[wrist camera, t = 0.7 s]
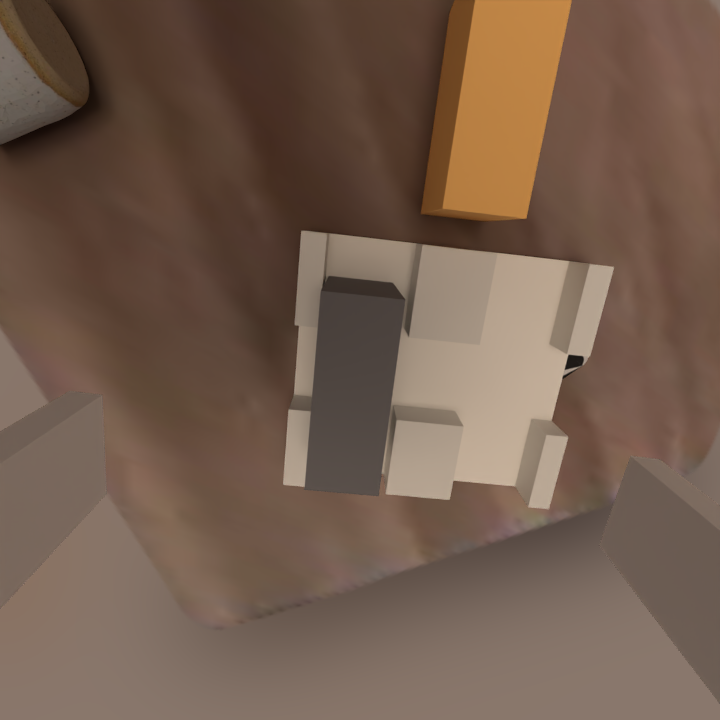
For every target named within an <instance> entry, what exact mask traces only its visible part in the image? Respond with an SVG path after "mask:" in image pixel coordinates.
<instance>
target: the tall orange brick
mask: <svg viewBox="0 0 720 720" xmlns="http://www.w3.org/2000/svg"><path fill="white" fill-rule="evenodd" d="M571 1H572V0H455V1H454V3H453V6H452V8H451V10H450V14H449V21H448V28H447V35H446V42H445V49H444V56H443V63H442V70H441V77H440V83H439V90H438V97H437V104H436V111H435V118H434V125H433V132H432V139H431V146H430V153H429V160H428V167H427V174H426V181H425V188H424V195H423V202H422V209H421V214H425V215H434V216H442V217H451V218H459V219H467V220H476V221H498V220H513V219H526V217H527V212H528V207H529V203H530V198H531V193H532V188H533V183H534V179H535V174H536V169H537V164H538V159H539V155H540V150H541V145H542V140H543V135H544V131H545V126H546V121H547V116H548V112H549V107H550V102H551V97H552V92H553V88H554V83H555V78H556V73H557V68H558V64H559V59H560V54H561V49H562V44H563V40H564V35H565V30H566V25H567V21H568V16H569V11H570V6H571Z"/></svg>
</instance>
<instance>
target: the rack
mask: <svg viewBox="0 0 720 720" xmlns="http://www.w3.org/2000/svg"><path fill="white" fill-rule="evenodd" d="M613 270H614V267H610V266H603V265H596V264H589V263H581V262H572V261H564V260H555V259H546V258H538V257H529V256H521V255H512V254H503V253H495V252H486V251H478V250H469V249H460V248H452V247H443V246H435V245H426V244H418V243H409V242H400V241H392V240H383V239H375V238H366V237H357V236H349V235H340V234H332V233H323V232H314V231H301V242H300V256H299V270H298V284H297V298H296V312H295V325H297V326H299V333H298V347H297V360H296V374H295V387H294V396H293V399H292V401H291V404H290V407H289V410H288V424H287V438H286V452H285V466H284V480H283V485H292V486H303V487H305V476H306V464H307V452H308V439H309V427H310V415H311V403H312V391H313V379H314V366H315V354H316V342H317V330H318V318H319V306H320V293H321V289H322V288H323V286H324V284H325V282H326V281H327V279H328V277H329V276H336V277H345V278H354V279H364V280H373V281H382V282H392V283H393V284H394V285H395V286H396V288H397V289H398V290H399V292H400V293H401V294H402V296H403V297H404V298H405V307H404V314H403V321H402V329H401V336H400V343H399V351H398V358H397V365H396V372H395V380H394V387H393V394H392V402H391V409H390V416H389V423H388V431H387V438H386V445H385V453H384V460H383V467H382V474H383V475H384V483H385V492H386V494H391V495H402V496H413V497H423V498H434V499H445V500H450V495H451V490H452V485H453V481H464V482H475V483H486V484H496V485H507V486H515V487H516V489H517V490H518V492H519V493H520V495H521V497H522V498H523V500H524V501H525V503H526V505H527V506H528V507H533V508H544V509H549V506H550V503H551V499H552V495H553V492H554V488H555V484H556V481H557V477H558V473H559V469H560V466H561V462H562V458H563V455H564V451H565V447H566V444H567V440H568V436H567V435H566V434H565V433H564V432H563V431H562V430H561V429H560V428H558V427H557V426H556V425H555V424H554V423H553V422H552V421H551V420H552V417H553V413H554V409H555V405H556V401H557V397H558V393H559V389H560V385H561V381H562V377H563V373H564V370H565V366H566V362H567V358H568V355H577V356H587V357H590V355H591V351H592V347H593V344H594V340H595V336H596V333H597V329H598V325H599V321H600V318H601V314H602V310H603V307H604V303H605V299H606V296H607V292H608V288H609V284H610V281H611V277H612V273H613Z"/></svg>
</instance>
